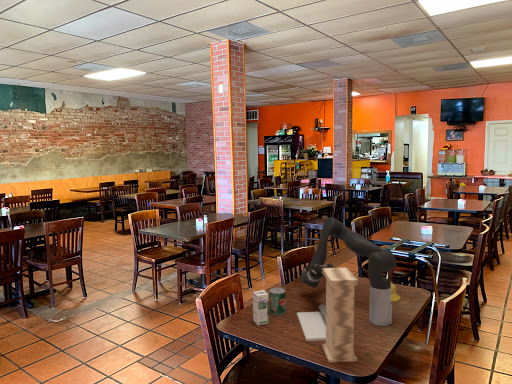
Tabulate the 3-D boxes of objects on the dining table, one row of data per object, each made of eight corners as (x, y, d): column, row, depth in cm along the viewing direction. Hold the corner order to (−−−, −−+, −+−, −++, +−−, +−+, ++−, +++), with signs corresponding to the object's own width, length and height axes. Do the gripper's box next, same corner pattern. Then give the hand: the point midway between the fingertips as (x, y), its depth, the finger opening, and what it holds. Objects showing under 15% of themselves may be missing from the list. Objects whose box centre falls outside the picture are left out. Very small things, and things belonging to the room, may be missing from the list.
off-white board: (333, 313, 184) (333, 311, 184) (348, 339, 159) (348, 337, 159) (296, 314, 184) (296, 312, 184) (306, 341, 158) (306, 338, 158)
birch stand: (346, 341, 157) (347, 267, 153) (358, 361, 142) (359, 279, 138) (320, 342, 156) (320, 268, 153) (329, 363, 141) (329, 280, 138)
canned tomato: (286, 314, 183) (286, 293, 182) (270, 315, 183) (269, 293, 182) (284, 308, 191) (284, 287, 190) (269, 308, 191) (269, 287, 190)
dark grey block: (321, 311, 184) (326, 308, 184) (334, 337, 159) (340, 333, 159) (318, 306, 184) (323, 303, 184) (331, 331, 158) (337, 327, 158)
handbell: (397, 304, 194) (398, 257, 192) (373, 298, 202) (374, 253, 199) (404, 296, 204) (405, 251, 202) (381, 291, 212) (382, 248, 209)
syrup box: (257, 326, 172) (257, 295, 170) (253, 320, 178) (252, 291, 176) (269, 323, 174) (268, 293, 173) (264, 318, 180) (263, 289, 178)
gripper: (301, 266, 192) (306, 258, 177) (328, 265, 192) (336, 257, 177) (302, 280, 189) (307, 274, 173) (330, 279, 189) (338, 273, 174)
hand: (322, 265), depth 175 cm, fingers open, 6 cm apart
